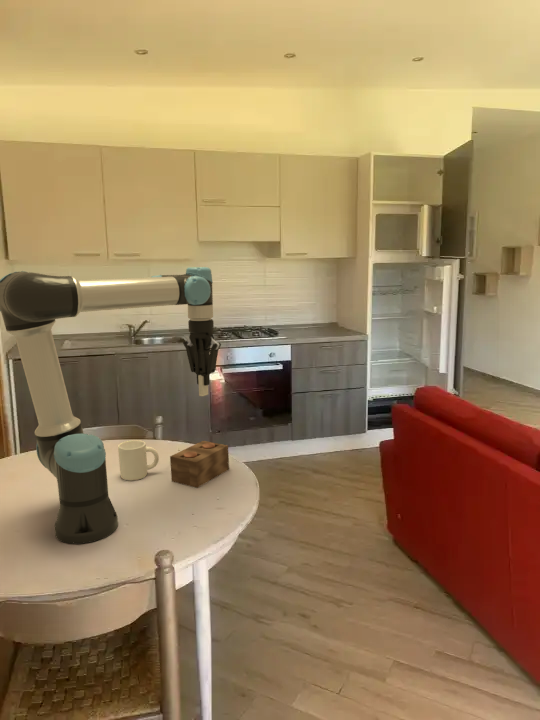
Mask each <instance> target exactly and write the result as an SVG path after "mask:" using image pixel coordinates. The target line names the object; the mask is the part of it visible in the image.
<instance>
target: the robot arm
mask: <svg viewBox="0 0 540 720" xmlns="http://www.w3.org/2000/svg"><path fill="white" fill-rule="evenodd" d="M213 296H214V295H213V275H212V270H211V268H210V267H207V266H202V267H201V266H194V267H187V268H186V270H185V273H184V274H159V275H152V276H148V277H129V278H127V277H126V278H125V277H123V278H103V279H102V278H101V279H100V278H99V279H97V278H96V279H76V278H75V277H74V276H72V275H67V276H66V275H64V276H61V275H59V276H58V275H51V274H49V275H48V274H43V273H39V272H30V271H29V272H28V271H23V270H22V271H14V272H9V273H8V274H6V275H4V276H3V277H2V278H1V279H0V313H1V316H2V321H3V323H4V326H5V330H6V332H7V333H9V334H10V335H12V336H13V337H14V339H15V341H16V345H17V348H18V353H19V357H20V360H21V364H22V367H23V371H24V375H25V378H26V381H27V386H28V390H29V393H30V396H31V397H30V398H31V400H32V404H33V408H34V412H35V416H36V418H37V423H38V426H37V427H36V429H35V430H34V436H35V439H36V446H35V447H36V449H35V450H36V454H37V455H36V456H37V458H38V460H39V462H40V463H41V464H42V466H43V467H44V468H46V469H47V470H48V471H49V472H50V473H51V474H52V475H53V477H55V478H56V483H57V492H58V499H59V501H58V502H59V507H58V510H57V516H56V520H55V523H54V534H55V538H56V539H57V540H58V541H60V542H62V543H65V544H73V545H74V544H75V545H76V544H87V543H92V542H96V541H99V540H102V539H104V538H106V537H108V536H110V535H111V534H113V533H114V532H115V531H116V530H117V529H118V527H119V526H118V525H119V521H118V519H119V518H118V514H117V512H116V510H115V507H114V506H113V503H112V501H111V498H110V496H109V488H108V487H109V484H108V474H107V472H108V471H107V460H106V456H107V453H106V449H105V445H104V442H103V440H102V439H101V438H100V437H99V436H97V435H94V434H88V433H84V429H83V426H82V422H81V419H80V418H78V417H77V416H74V414H73V412H72V407H71V403H70V399H69V395H68V392H67V391H68V390H67V387H66V384H65V383H66V382H65V380H64V379H65V378H64V375H63V371H62V367H61V364H60V361H59V356H58V351H57V348H56V347H57V346H56V344H55V340H54V335H53V332H52V328H53V326H54V325H55V324H56V322H57V321H56V320H58V319H66V318H75V317H77V316H78V315H80V313H84V312H85V313H88V312H99V311H112V310H123V309H124V310H126V309H127V310H128V309H139V308H141V309H142V308H152V307H165V306H181V305H183V306H184V305H187V317H188V319H189V320H188V332H189V333H190V334H189V336H188V339H187V340H183V341H182V344H183V346H184V348H185V350H186V351H185V352H186V354H187V355H186V356H187V359H188V364H189V369H190V372H191V373H194V374H196V384H197V385H198V396H199V397H205V396H209V386H210V383H211V381H210V375H211V374H214V373H215V372H216V366H217V362H218V361H217V360H218V355H219V350H220V348H221V346H222V343H221V342H218V341H216V340H215V337H214V334H213V332H214V331H215V330H214V328H215V327H214V320H213V319H212V318H214V305H213V304H214V303H213V302H214V301H213V299H214V298H213Z"/></svg>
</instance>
